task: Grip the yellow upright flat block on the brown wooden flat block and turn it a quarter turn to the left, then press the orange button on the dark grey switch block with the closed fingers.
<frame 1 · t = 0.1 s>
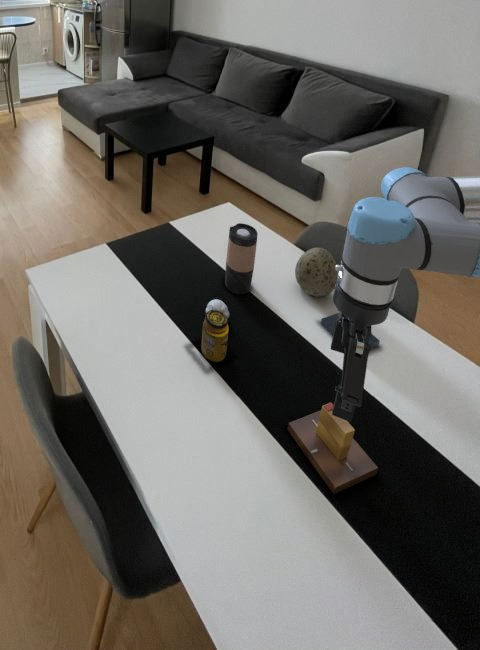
hand: (340, 381, 76), 23 cm above the table, tool pointing down, fingers open, 13 cm apart
brown wooden flat block: (329, 452, 86), on the table
switch block: (348, 335, 110), on the table
travel mug: (237, 286, 127), on the table
yellow upright flat block: (334, 430, 83), point 7 cm above the table, hinge at 0.0°
white lumpy ball: (216, 321, 116), on the table
button: (351, 322, 108), point 4 cm above the table, slide at 0.1 cm
decorative egg: (312, 291, 124), on the table
condiment: (210, 354, 107), on the table
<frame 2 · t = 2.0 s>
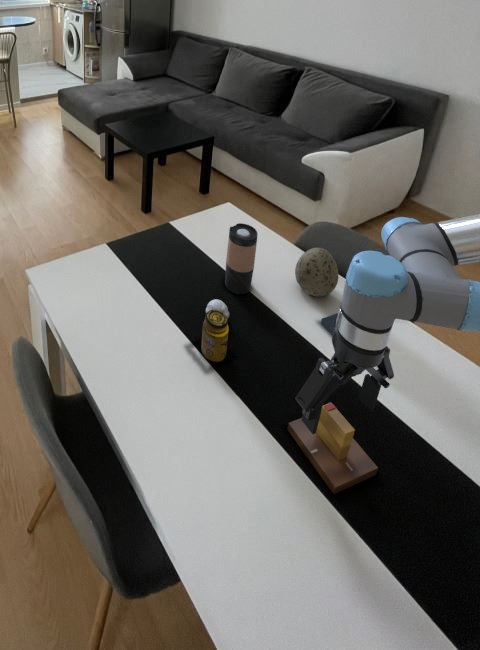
hand: (337, 414, 81), 11 cm above the table, tool pointing down, fingers open, 13 cm apart
nothing on the table moved.
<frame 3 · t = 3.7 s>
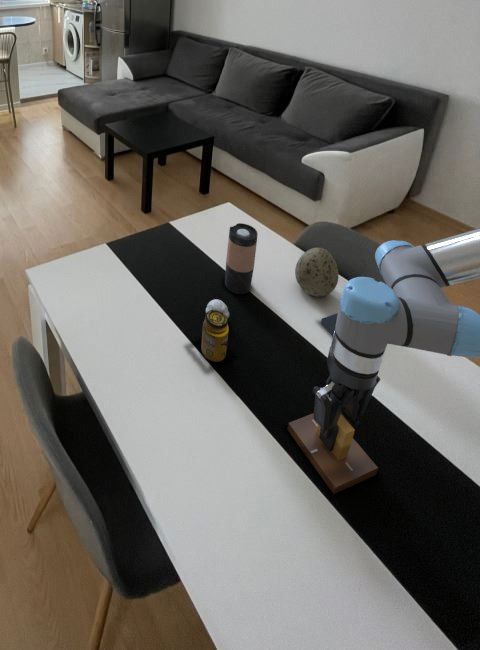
hand: (332, 441, 84), 3 cm above the table, tool pointing down, fingers closed on yellow upright flat block, 2 cm apart
yellow upright flat block: (334, 430, 83), point 7 cm above the table, hinge at 0.0°, touching gripper
everything else where it was.
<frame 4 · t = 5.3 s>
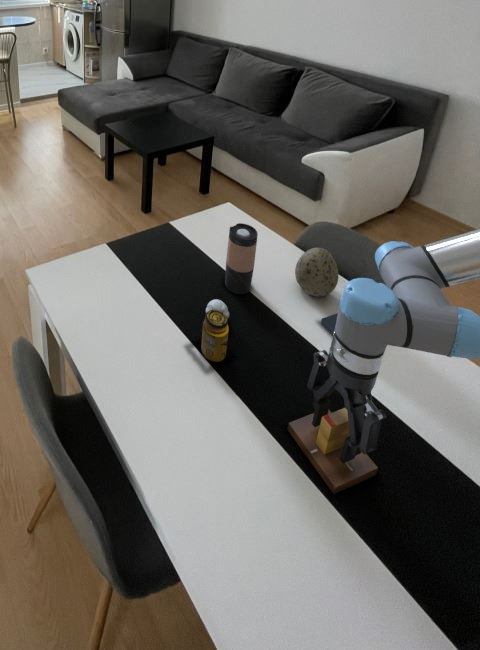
hand: (332, 440, 84), 4 cm above the table, tool pointing down, fingers open, 6 cm apart
yellow upright flat block: (334, 430, 83), point 7 cm above the table, hinge at 90.0°
everything else where it was.
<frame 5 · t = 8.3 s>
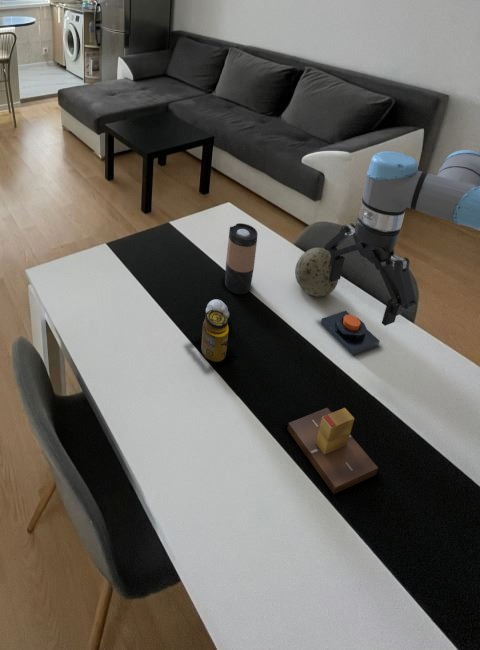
hand: (359, 299, 97), 19 cm above the table, tool pointing down, fingers open, 13 cm apart
nothing on the table moved.
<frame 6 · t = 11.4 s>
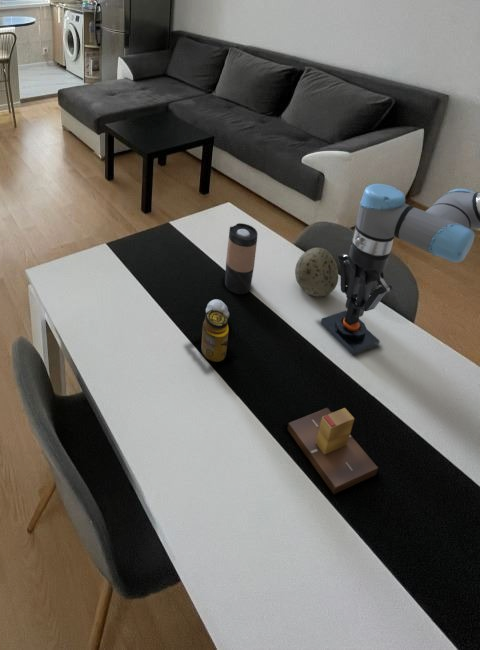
hand: (351, 321, 108), 5 cm above the table, tool pointing down, fingers closed
button: (350, 325, 108), point 4 cm above the table, slide at -0.7 cm, touching gripper
everything else where it was.
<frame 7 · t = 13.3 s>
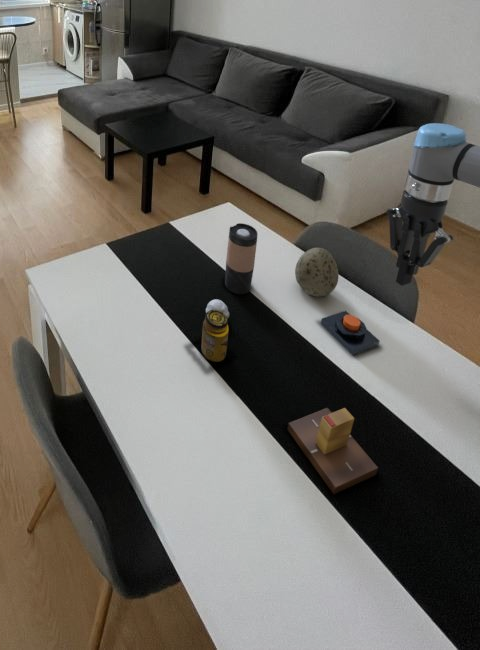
hand: (403, 282, 99), 20 cm above the table, tool pointing down, fingers closed
button: (351, 322, 108), point 4 cm above the table, slide at 0.1 cm
everything else where it was.
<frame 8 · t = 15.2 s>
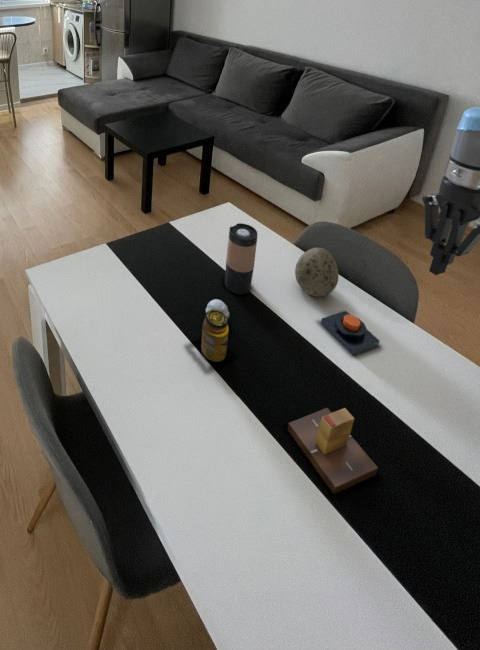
hand: (436, 271, 96), 24 cm above the table, tool pointing down, fingers closed
nothing on the table moved.
at the end: yellow upright flat block at +90° (first picture: +0°); button pushed in 1.0 cm at the most during the clip, back to where it started at the end; button slide at 0.1 cm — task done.
